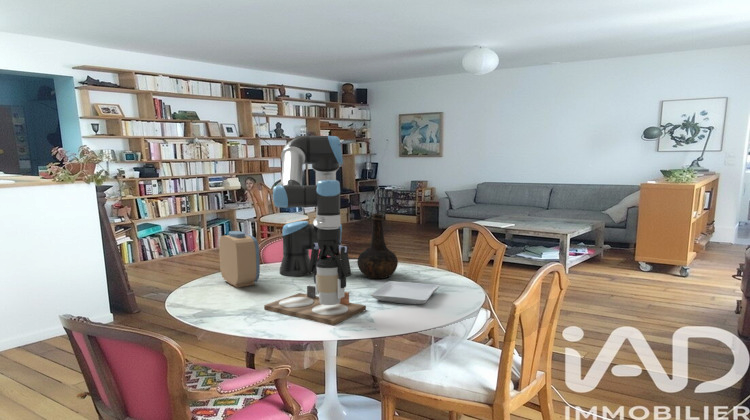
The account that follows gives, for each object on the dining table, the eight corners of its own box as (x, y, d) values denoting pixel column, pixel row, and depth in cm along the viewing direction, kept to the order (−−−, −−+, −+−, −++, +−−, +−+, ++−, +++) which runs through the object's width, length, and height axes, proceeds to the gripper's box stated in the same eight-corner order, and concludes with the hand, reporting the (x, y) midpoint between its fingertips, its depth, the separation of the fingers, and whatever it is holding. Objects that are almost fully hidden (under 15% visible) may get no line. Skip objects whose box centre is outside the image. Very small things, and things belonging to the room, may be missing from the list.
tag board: (264, 309, 162) (263, 293, 162) (299, 296, 177) (299, 282, 177) (333, 325, 146) (333, 308, 145) (365, 309, 161) (365, 294, 161)
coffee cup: (349, 301, 156) (348, 257, 155) (328, 308, 150) (328, 261, 148) (331, 296, 163) (330, 253, 161) (310, 302, 156) (309, 257, 155)
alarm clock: (260, 286, 193) (259, 234, 190) (238, 290, 187) (236, 236, 185) (241, 276, 209) (240, 228, 207) (220, 280, 203) (218, 230, 201)
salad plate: (369, 303, 170) (369, 293, 170) (388, 288, 190) (388, 279, 190) (426, 309, 163) (426, 299, 163) (440, 293, 183) (440, 284, 182)
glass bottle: (384, 270, 220) (383, 210, 217) (405, 278, 205) (406, 214, 202) (350, 275, 211) (349, 213, 208) (370, 283, 196) (370, 216, 193)
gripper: (296, 226, 156) (298, 293, 159) (348, 231, 145) (349, 303, 147) (311, 224, 163) (312, 288, 165) (362, 228, 151) (362, 297, 154)
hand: (330, 295), depth 156 cm, fingers closed on coffee cup, 8 cm apart
